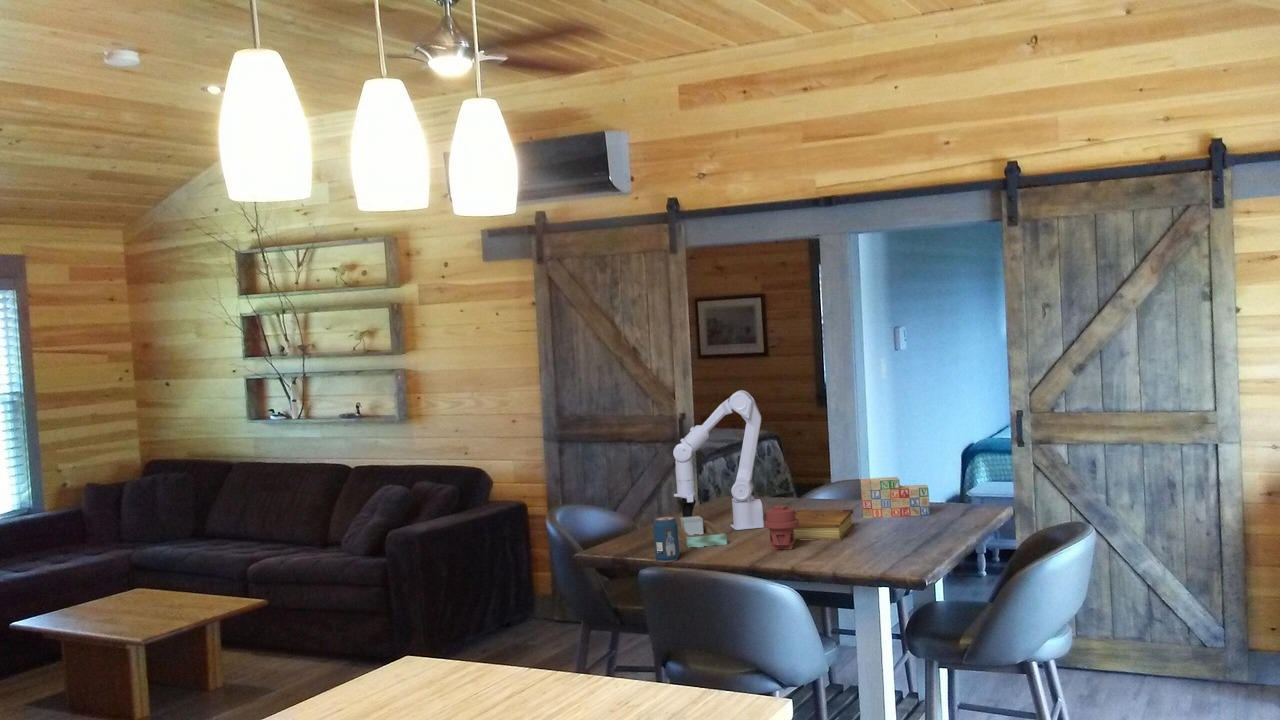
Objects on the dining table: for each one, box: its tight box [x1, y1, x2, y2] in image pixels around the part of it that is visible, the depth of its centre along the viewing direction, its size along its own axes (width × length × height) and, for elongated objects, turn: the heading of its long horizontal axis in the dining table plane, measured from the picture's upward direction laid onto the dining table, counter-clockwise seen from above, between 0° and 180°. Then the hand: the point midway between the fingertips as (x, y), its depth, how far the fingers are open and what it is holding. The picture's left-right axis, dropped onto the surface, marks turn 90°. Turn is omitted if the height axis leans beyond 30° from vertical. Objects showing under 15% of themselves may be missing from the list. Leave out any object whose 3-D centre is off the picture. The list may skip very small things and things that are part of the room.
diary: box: [794, 509, 855, 541], centre depth 348 cm, size 23×19×6 cm
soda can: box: [652, 515, 680, 563], centre depth 322 cm, size 7×7×12 cm
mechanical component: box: [763, 504, 799, 550], centre depth 327 cm, size 12×10×10 cm
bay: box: [677, 519, 728, 549], centre depth 352 cm, size 12×28×3 cm, turn 8°
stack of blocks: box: [859, 476, 931, 519], centre depth 369 cm, size 21×6×12 cm, turn 81°
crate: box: [679, 515, 704, 536], centre depth 361 cm, size 6×6×5 cm
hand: (687, 521), depth 368 cm, fingers closed
